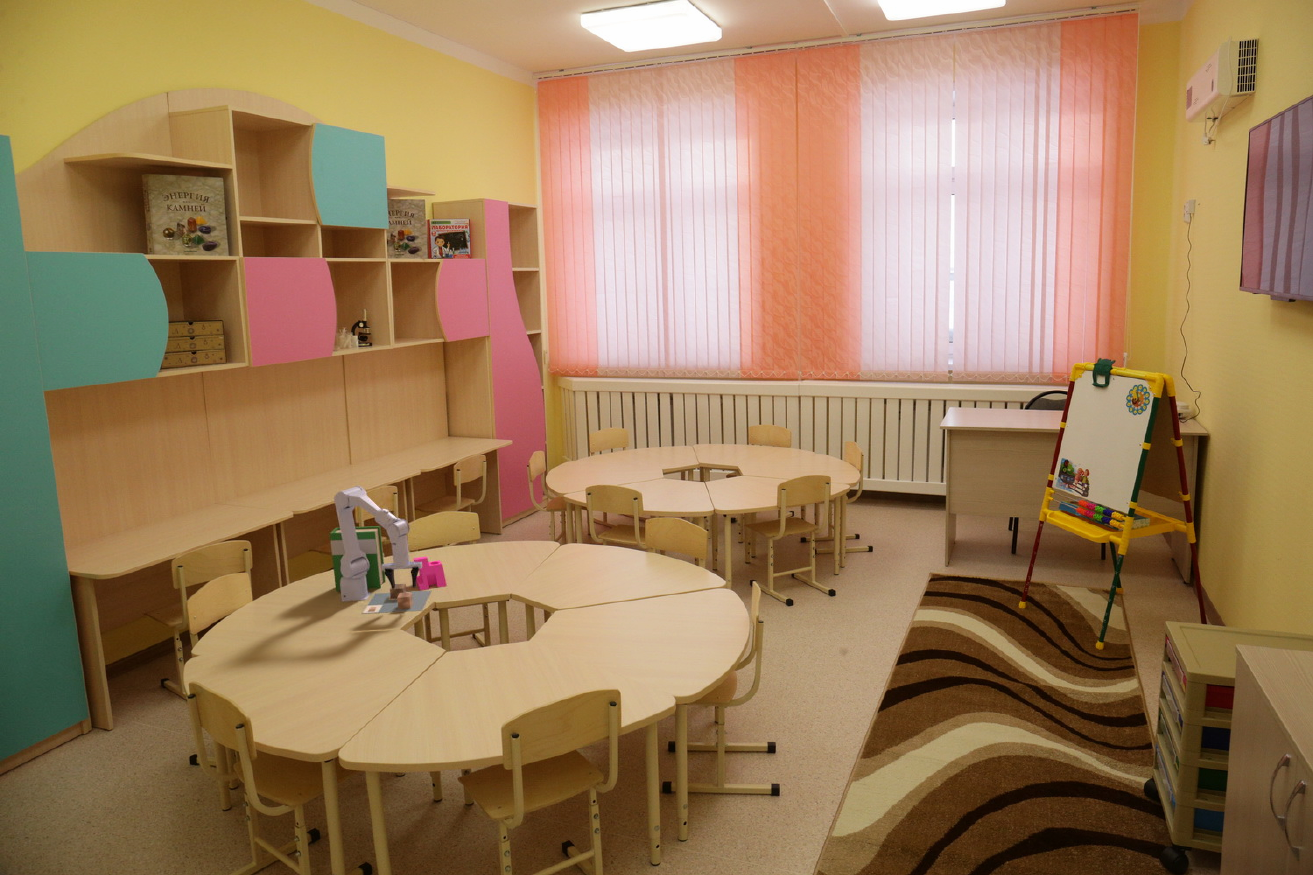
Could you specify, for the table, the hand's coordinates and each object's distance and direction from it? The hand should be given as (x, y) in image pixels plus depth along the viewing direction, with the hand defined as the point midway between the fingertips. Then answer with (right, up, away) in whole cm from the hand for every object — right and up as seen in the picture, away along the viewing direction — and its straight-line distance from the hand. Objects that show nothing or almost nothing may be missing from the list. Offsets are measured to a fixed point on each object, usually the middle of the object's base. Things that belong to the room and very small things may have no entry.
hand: (403, 587), depth 333 cm
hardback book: (-24, -4, +25) cm, 35 cm away
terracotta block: (0, -7, +2) cm, 8 cm away
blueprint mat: (-4, -7, +6) cm, 10 cm away
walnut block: (-5, -5, +12) cm, 14 cm away
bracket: (+4, -3, +25) cm, 25 cm away
